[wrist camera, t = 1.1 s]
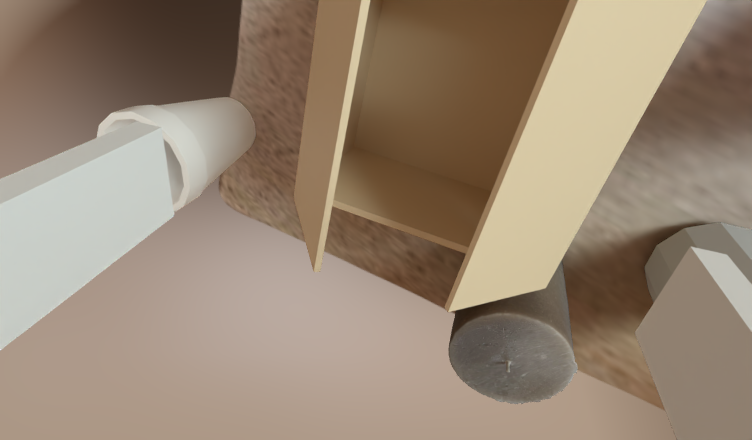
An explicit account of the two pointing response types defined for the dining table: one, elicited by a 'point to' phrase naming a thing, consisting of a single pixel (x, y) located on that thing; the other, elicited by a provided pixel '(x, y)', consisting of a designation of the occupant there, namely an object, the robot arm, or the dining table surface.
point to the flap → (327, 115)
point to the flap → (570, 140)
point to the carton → (439, 109)
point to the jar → (738, 243)
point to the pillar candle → (516, 345)
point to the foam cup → (193, 139)
